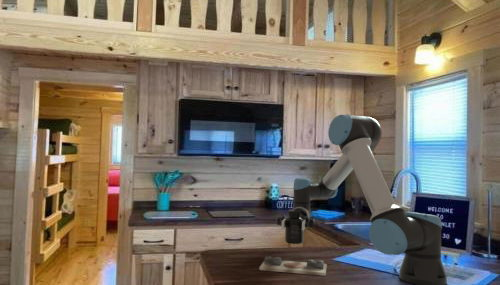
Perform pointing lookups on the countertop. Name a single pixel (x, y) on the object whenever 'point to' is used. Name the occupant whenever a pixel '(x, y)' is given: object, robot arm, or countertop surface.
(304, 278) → the countertop surface
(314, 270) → the cream base tray
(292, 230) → the supplement bottle
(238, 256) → the countertop surface
